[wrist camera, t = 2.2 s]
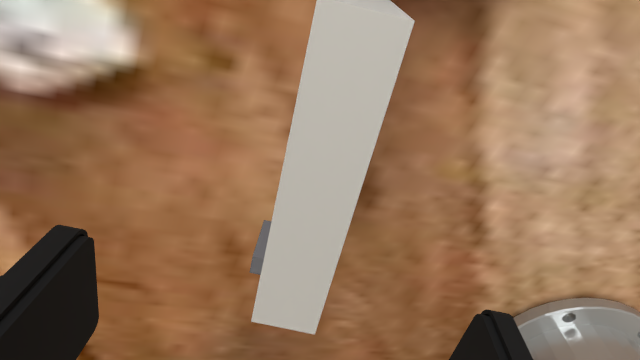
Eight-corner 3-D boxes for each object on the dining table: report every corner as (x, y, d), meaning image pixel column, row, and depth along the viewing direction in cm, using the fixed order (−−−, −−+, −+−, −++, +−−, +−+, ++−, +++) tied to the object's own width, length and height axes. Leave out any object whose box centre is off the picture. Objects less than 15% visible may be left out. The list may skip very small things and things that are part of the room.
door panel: (387, -2, 20) (414, 20, 12) (324, 224, 27) (314, 334, 19) (316, -20, 20) (297, -9, 12) (270, 212, 26) (238, 318, 19)
